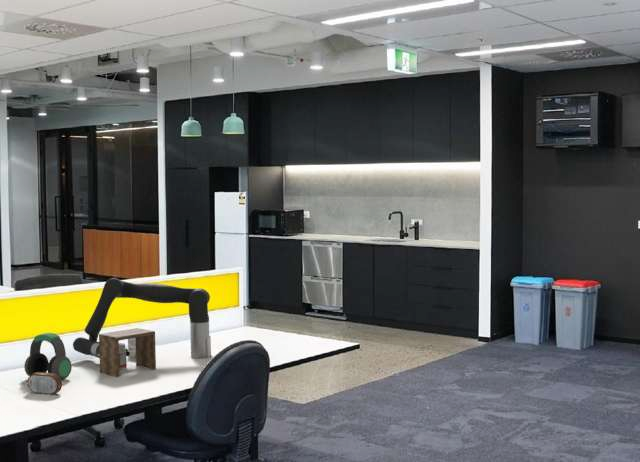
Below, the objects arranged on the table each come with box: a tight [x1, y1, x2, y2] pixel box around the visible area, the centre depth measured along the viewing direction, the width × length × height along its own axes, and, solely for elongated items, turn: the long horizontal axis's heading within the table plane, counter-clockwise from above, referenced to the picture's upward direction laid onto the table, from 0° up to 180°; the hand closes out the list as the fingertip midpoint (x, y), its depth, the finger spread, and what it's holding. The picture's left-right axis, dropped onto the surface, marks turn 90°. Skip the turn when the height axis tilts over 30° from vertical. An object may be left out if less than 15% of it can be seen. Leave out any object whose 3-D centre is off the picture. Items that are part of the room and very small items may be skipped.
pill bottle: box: [119, 342, 127, 371], centre depth 368 cm, size 6×6×11 cm
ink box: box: [127, 338, 136, 358], centre depth 397 cm, size 9×5×12 cm, turn 56°
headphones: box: [23, 332, 72, 381], centre depth 350 cm, size 19×11×20 cm, turn 65°
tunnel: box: [98, 327, 157, 378], centre depth 363 cm, size 14×20×18 cm
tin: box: [27, 372, 63, 395], centre depth 324 cm, size 15×3×8 cm, turn 71°
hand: (122, 355), depth 366 cm, fingers closed on pill bottle, 6 cm apart
